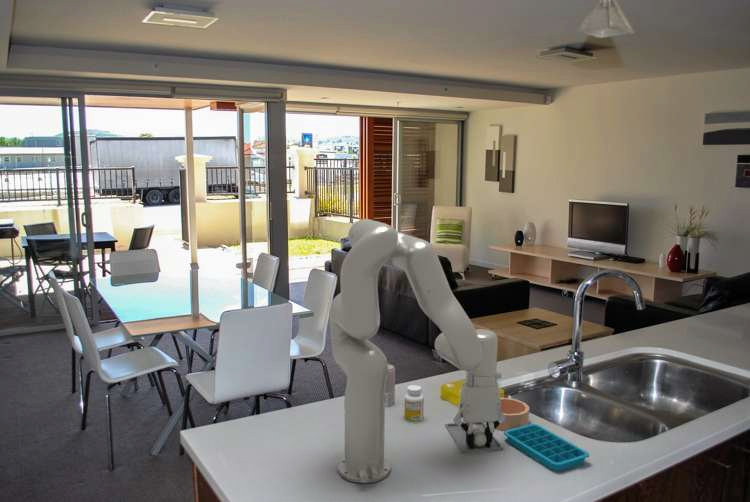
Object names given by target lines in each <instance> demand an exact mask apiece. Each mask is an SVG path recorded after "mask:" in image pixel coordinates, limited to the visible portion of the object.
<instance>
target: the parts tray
mask: <svg viewBox="0 0 750 502" xmlns="http://www.w3.org/2000/svg"><path fill="white" fill-rule="evenodd" d="M474 424H475V425H477V426H478V427H479V429H480V431H482V432H484V431H485V428H486V427H487V426H486V422H481V423H474ZM444 427H445V428H446V431H447V432H448V433H449V435H450V437H451V438H452V440H453V441H454V444H455V445H456V446H457V449H459V451H460V453H461V454H471V453H472V454H473V453H483V452H496V451H498V452H500V451H504V447H503V445H502V444H501V443H500V441H499V440H498V439H497V437H496V436H495V435H494V434H493V437H492V443H491V447H487V445H486V444H485V445H484V446H482V447H477V446H475V445H474V448H473V449H471V448H470V447H469V445H468V444H467V443H466V431H465V430H464V429H463V428H462V427H460V426H458V425H457V424H455V423H454V422H449V423H444Z"/></svg>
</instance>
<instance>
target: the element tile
mask: <svg viewBox="0 0 750 502" xmlns="http://www.w3.org/2000/svg"><path fill="white" fill-rule="evenodd" d="M464 381H466V378H463V379H460V380H455V381H451V382H448V383H444V384H441V385H440V399H441V401H444V402H449V403H450V404H452V405H453V406H456V407H458V408H459V400H460V393H461V388H462V384H463V382H464ZM499 392H500V398H505V390H504V389H503V388H501V387H499Z"/></svg>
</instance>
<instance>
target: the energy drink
mask: <svg viewBox="0 0 750 502" xmlns="http://www.w3.org/2000/svg"><path fill="white" fill-rule="evenodd" d="M395 392H396V368H395V366H394V364H391V363H388V375H387V381H386V387H385V408H386V407H387V408H388V407H392V406H394V405H395V402H396V396H395V395H396V393H395Z"/></svg>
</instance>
